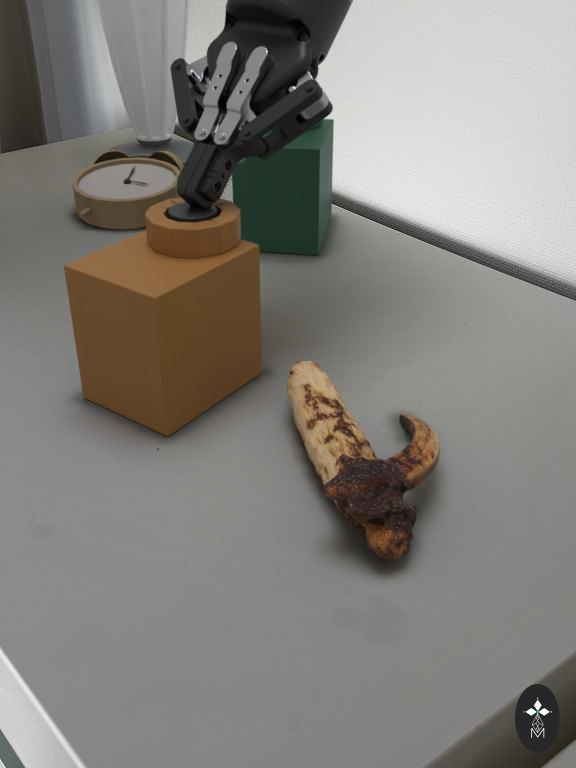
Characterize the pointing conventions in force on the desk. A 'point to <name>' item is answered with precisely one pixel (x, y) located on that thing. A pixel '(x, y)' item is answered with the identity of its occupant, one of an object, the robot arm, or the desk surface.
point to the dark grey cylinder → (191, 213)
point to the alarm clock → (125, 187)
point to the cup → (147, 67)
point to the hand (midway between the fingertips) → (192, 201)
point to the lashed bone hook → (360, 462)
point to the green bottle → (288, 193)
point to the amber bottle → (168, 317)
